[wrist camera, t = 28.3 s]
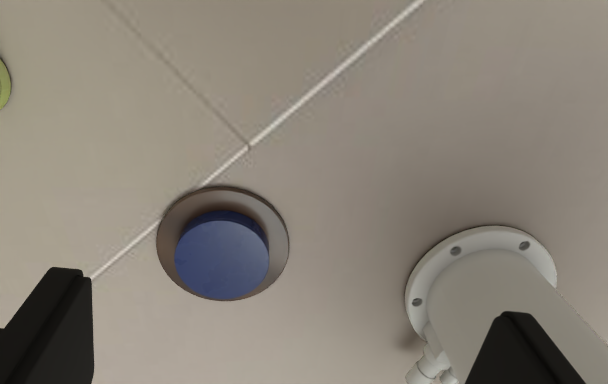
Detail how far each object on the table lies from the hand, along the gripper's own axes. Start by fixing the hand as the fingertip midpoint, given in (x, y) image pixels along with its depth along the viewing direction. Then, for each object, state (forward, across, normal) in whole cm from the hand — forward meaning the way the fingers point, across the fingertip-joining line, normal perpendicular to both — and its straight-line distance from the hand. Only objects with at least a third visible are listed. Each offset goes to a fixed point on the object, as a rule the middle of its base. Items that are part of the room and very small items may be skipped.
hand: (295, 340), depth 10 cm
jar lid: (+20, +2, +12) cm, 23 cm away
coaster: (+22, +2, +12) cm, 25 cm away
